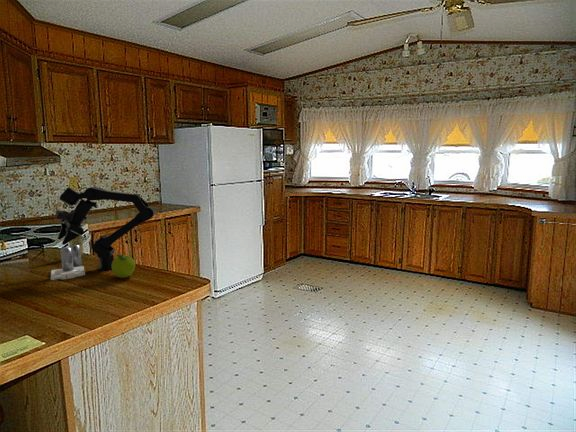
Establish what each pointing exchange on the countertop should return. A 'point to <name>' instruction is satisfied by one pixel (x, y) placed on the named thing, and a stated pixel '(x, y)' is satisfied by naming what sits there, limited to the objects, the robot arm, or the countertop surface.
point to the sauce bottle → (77, 243)
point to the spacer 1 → (67, 259)
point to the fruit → (123, 266)
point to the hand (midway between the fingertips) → (60, 241)
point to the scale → (67, 273)
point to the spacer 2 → (76, 255)
